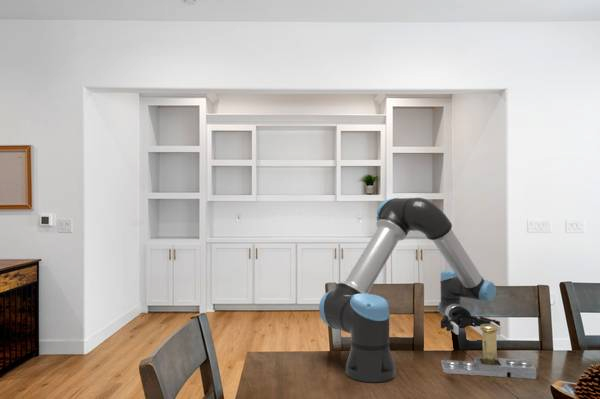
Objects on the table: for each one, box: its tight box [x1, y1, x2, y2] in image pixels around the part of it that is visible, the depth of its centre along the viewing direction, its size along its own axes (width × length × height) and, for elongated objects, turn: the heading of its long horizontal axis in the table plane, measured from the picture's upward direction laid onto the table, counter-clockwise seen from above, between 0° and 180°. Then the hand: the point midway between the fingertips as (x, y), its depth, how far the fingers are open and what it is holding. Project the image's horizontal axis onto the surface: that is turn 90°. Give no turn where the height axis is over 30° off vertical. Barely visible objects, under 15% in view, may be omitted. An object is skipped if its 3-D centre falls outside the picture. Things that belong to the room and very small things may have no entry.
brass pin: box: [479, 324, 498, 365], centre depth 140 cm, size 5×5×14 cm
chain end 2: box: [473, 356, 537, 380], centre depth 139 cm, size 16×8×4 cm, turn 78°
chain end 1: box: [440, 359, 508, 378], centre depth 141 cm, size 18×8×2 cm, turn 78°
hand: (478, 330), depth 150 cm, fingers open, 13 cm apart
